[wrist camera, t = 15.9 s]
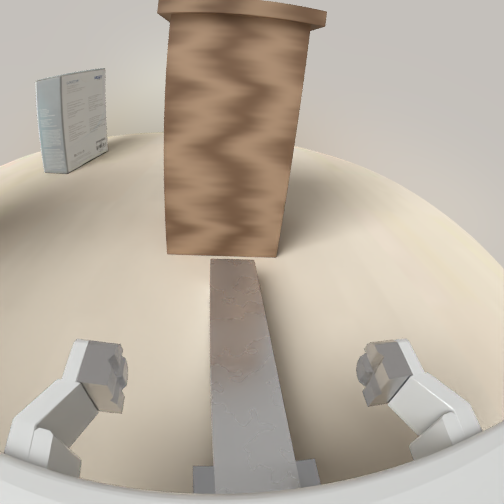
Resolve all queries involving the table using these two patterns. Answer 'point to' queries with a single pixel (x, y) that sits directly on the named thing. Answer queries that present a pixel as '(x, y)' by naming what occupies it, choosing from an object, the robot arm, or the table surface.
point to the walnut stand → (231, 121)
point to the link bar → (246, 394)
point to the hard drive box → (71, 119)
